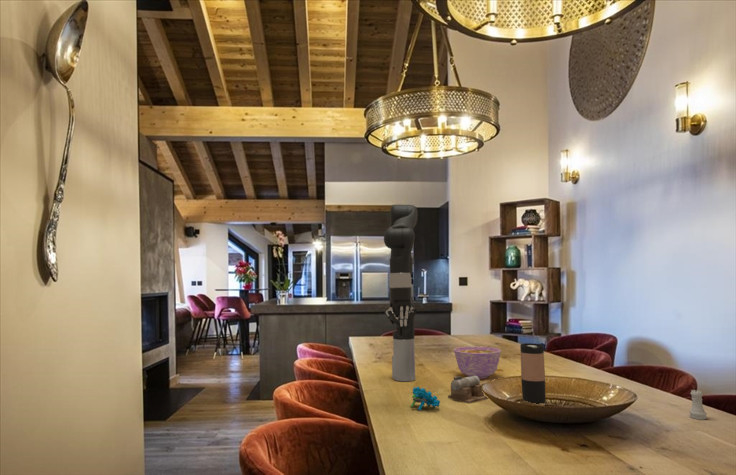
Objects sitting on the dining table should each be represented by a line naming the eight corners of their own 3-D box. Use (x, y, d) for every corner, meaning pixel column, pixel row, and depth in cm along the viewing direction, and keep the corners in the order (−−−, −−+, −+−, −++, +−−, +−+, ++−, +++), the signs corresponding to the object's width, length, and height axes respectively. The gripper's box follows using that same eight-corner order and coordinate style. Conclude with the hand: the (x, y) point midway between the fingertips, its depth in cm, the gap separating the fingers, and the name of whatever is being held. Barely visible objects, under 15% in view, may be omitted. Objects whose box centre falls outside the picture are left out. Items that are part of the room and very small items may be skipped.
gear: (446, 404, 155) (428, 385, 152) (438, 420, 152) (419, 401, 149) (424, 402, 164) (406, 384, 161) (416, 417, 161) (398, 399, 158)
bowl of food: (465, 370, 219) (465, 345, 220) (508, 375, 207) (507, 348, 208) (446, 378, 203) (445, 350, 204) (491, 384, 191) (490, 354, 192)
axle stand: (466, 404, 161) (465, 379, 162) (445, 398, 169) (444, 375, 170) (488, 398, 168) (487, 375, 169) (467, 393, 176) (466, 371, 177)
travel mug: (528, 400, 165) (526, 342, 166) (550, 404, 159) (547, 344, 161) (518, 405, 159) (515, 345, 161) (539, 409, 154) (537, 347, 156)
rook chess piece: (704, 416, 144) (702, 389, 145) (709, 420, 140) (707, 393, 141) (687, 415, 146) (685, 388, 146) (691, 419, 142) (690, 392, 142)
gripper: (408, 285, 169) (409, 334, 168) (378, 286, 162) (379, 338, 160) (422, 285, 163) (423, 336, 162) (391, 286, 155) (393, 340, 154)
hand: (401, 337), depth 161 cm, fingers closed
